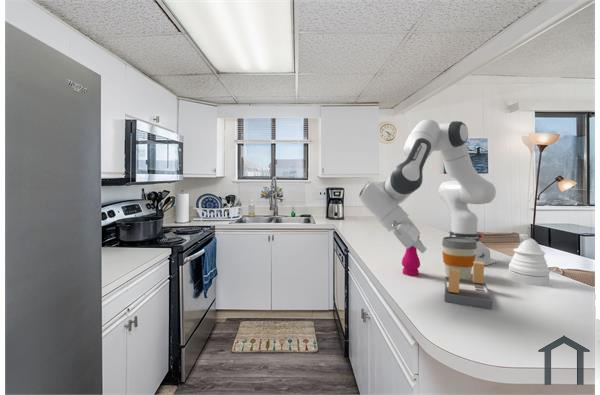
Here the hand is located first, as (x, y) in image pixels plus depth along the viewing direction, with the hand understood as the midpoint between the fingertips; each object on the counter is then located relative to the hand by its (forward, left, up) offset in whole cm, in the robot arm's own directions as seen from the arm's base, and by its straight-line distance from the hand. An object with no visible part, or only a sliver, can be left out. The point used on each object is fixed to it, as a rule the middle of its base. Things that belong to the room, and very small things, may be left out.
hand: (424, 251), depth 103 cm
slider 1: (-6, +6, -12) cm, 15 cm away
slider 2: (-22, +2, -12) cm, 25 cm away
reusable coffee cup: (-29, -13, -15) cm, 35 cm away
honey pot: (-51, 0, -15) cm, 53 cm away
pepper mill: (-12, -21, -15) cm, 28 cm away
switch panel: (-14, +4, -15) cm, 21 cm away
